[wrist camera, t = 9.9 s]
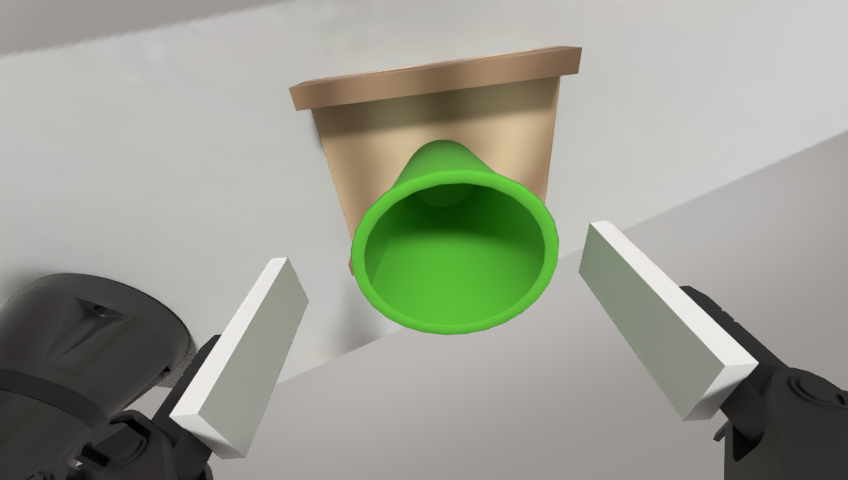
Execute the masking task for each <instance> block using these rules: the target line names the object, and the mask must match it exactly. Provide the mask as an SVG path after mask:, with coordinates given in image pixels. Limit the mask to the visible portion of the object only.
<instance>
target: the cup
mask: <svg viewBox="0 0 848 480" xmlns="http://www.w3.org/2000/svg"><path fill="white" fill-rule="evenodd" d="M558 248H559V238H558V234H557V230H556V226H555V222H554V219H553V218H552V216H551V214H550V213H549V211H548V210H547V208H546V206H545V205H544V203H543V202H542V200H540V199H539V198H538V197H537V196H536V195H534V194H533V193H532V192H531V191H530V190H529V189H527V188H526V187H525V186H524V185H523V184H520V183H518V182H516V181H514V180H512V179H509V178H507V177H505V176H503V175H500V174H498V173H496V172H494V171H493V170H492V169H491V168H490V167H489V166H487V165H486V164H485V163H484V162H483V161H482V160H480V159H479V158H478V157H477V156H476V155H475V154H473V153H472V152H471V151H470V150H469V149H467V148H466V147H465V146H464V145H462V144H460V143H458V142H456V141H452V140H446V139H444V140H435V141H432V142H429V143H426V144H425V145H423V146H422V147H420V148H419V149H418V150H417V151H416V152H415V153H414V154H413V155H412V157H411V158H410V160H409V161H408V163H407V164H406V166H405V167H404V169H403V171H402V172H401V174H400V175H399V177H398V178H397V180H396V181H395V183H394V184H393V186H392V187H391V189H390V190H388V191H386V192H385V193H384V194H383V195H382V196H381V197H380V198H379V199H378V200H377V201H376V202H375V203H374V204H373V205H372V206H371V207H370V208H369V209H368V210H367V211H366V212H365V214H364V216H363V217H362V219H361V221H360V223H359V225H358V227H357V228H356V230H355V233H354V238H353V243H352V248H351V260H352V269H353V273H354V275H355V278H356V280H357V282H358V285H359V287H360V290H361V292H362V293H363V294H364V296H365V297H366V298H367V299H368V301H369V302H370V303H371V305H372V306H373V307H374V308H376V309H377V310H378V311H379V312H381V313H382V314H383V315H385V316H386V317H387V318H388V319H390V320H392V321H394V322H397V323H399V324H401V325H403V326H405V327H407V328H411V329H414V330H418V331H421V332H425V333H434V334H442V335H452V334H468V333H472V332H478V331H482V330H486V329H489V328H492V327H495V326H497V325H500V324H503V323H505V322H507V321H509V320H510V319H512V318H514V317H515V316H517V315H519V314H521V313H522V312H523V311H525V310H526V309H527V308H528V307H529V306H530V305H532V304H533V303H534V302H535V301H536V300H537V299H538V298H539V297H540V295H541V294H542V292H543V291H544V290H545V288H546V287H547V286H548V284H549V283H550V280H551V278H552V275H553V273H554V270H555V268H556V265H557V260H558Z"/></svg>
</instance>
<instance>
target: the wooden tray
mask: <svg viewBox="0 0 848 480" xmlns="http://www.w3.org/2000/svg"><path fill="white" fill-rule="evenodd" d="M581 51H582V48H581V47H568V46H555V47H548V48H540V49H533V50H526V51H519V52H512V53H504V54H497V55H490V56H483V57H475V58H468V59H461V60H454V61H447V62H439V63H432V64H425V65H418V66H411V67H403V68H396V69H389V70H382V71H375V72H367V73H360V74H353V75H346V76H339V77H331V78H324V79H317V80H310V81H305V82H303V83H300V84H298V85H295V86H292V87H290V88H289V90H290V93H291V96H292V99H293V102H294V105H295V108H296V111H298V110H305V109H311V110H312V113H313V116H314V119H315V123H316V126H317V129H318V132H319V135H320V139H321V142H322V145H323V148H324V152H325V155H326V158H327V161H328V164H329V168H330V171H331V174H332V177H333V181H334V184H335V187H336V190H337V193H338V197H339V200H340V203H341V206H342V209H343V213H344V216H345V219H346V222H347V226H348V229H349V232H350V235H351V238H352V242H353V238H354V233H355V230H356V228H357V227H358V225H359V223H360V221H361V219H362V217H363V216H364V214H365V212H366V211H367V210H368V209H369V208H370V207H371V206H372V205H373V204H374V203H375V202H376V201H377V200H378V199H379V198H380V197H381V196H382V195H383V194H384V193H385V192H386V191H388V190H390V189H391V187H392V186H393V184H394V183H395V181H396V180H397V178H398V177H399V175H400V174H401V172H402V171H403V169H404V167H405V166H406V164H407V163H408V161H409V160H410V158H411V157H412V155H413V154H414V153H415V152H416V151H417V150H418V149H419V148H420V147H422V146H423V145H425V144H426V143H429V142H432V141H435V140H444V139H446V140H452V141H456V142H458V143H460V144H462V145H464V146H465V147H466V148H467V149H469V150H470V151H471V152H472V153H473V154H475V155H476V156H477V157H478V158H479V159H480V160H482V161H483V162H484V163H485V164H486V165H487V166H489V167H490V168H491V169H492V170H493V171H494V172H496V173H498V174H500V175H503V176H505V177H507V178H509V179H512V180H514V181H516V182H518V183H520V184H523V185H524V186H525V187H526V188H527V189H529V190H530V191H531V192H532V193H533V194H534V195H536V196H537V197H538V198H539V199H540V200H542V202H543V203H544V205H545V200H546V191H547V183H548V175H549V167H550V159H551V151H552V143H553V134H554V126H555V118H556V110H557V102H558V94H559V85H560V77H561V76H563V75H570V74H578V71H579V64H580V58H581ZM348 265H349V268H350V271H351V274H352V276H353V275H354V273H353V269H352V260H351V258H350V261H349V264H348Z"/></svg>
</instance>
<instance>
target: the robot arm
mask: <svg viewBox="0 0 848 480" xmlns="http://www.w3.org/2000/svg"><path fill="white" fill-rule="evenodd" d="M579 273H580V275H581V276H582V278H583V279H584V281H585V282H586V283H587V285H588V286H589V288H590V289H591V291H592V292H593V293H594V295H595V296H596V298H597V299H598V300H599V302H600V303H601V305H602V306H603V308H604V309H605V311H606V312H607V313H608V315H609V316H610V318H611V319H612V321H613V322H614V324H615V325H616V326H617V328H618V329H619V331H620V332H621V333H622V335H623V336H624V337H625V339H626V341H627V342H628V344H629V345H630V346H631V348H632V349H633V351H634V352H635V354H636V355H637V356H638V358H639V359H640V361H641V362H642V363H643V365H644V366H645V368H646V369H647V371H648V372H649V374H650V375H651V376H652V378H653V379H654V381H655V382H656V384H657V385H658V386H659V388H660V389H661V391H662V392H663V394H664V395H665V396H666V398H667V399H668V401H669V402H670V404H671V405H672V406H673V408H674V409H675V411H676V412H677V414H678V415H679V417H680V418H681V419H682V421H693V420H705V419H711V417H713V415H714V414H715V413H716V412H717V410H719V408H720V409H721V410H722V412H723V413H724V414H725V415H726V416H727V418H728V419H729V420H728V421H727V422H726V423H725V424H724V425H723V426H722V427H721V428H720V429H719V430H718V431H717V433H716V434H715V437H714V440H715V441H718V442H719V441H720V440H721V439H722V438H723V437H724V436H725V460H724V461H725V462H724V464H725V465H724V480H848V391H844V390H841V389H840V388H838V387H837V386H835V385H834V384H832V383H831V382H829V381H827V380H826V379H824V378H822V377H820V376H817V375H815V374H813V373H811V372H808V371H805V370H800V369H797V368H789V367H788V366H787V365H785V364H784V363H783V362H782V361H781V360H779V359H778V358H777V357H776V356H775V355H774V354H773V353H772V352H770V351H769V350H768V349H767V348H766V347H765V346H764V345H762V344H761V343H760V342H759V341H758V340H757V339H756V338H755V337H753V336H752V335H751V334H750V333H749V332H748V331H747V330H745V329H744V328H743V327H742V326H741V325H740V324H739V323H738V322H734V319H733V318H732V317H731V316H730V315H729V314H727V313H726V312H725V311H722V309H721V307H719V306H718V305H717V304H716V303H715V302H714V301H713V300H711V299H710V298H709V297H708V296H707V295H705V294H703V293H701V292H699V291H697V290H696V289H694V288H692V287H690V286H681V287H678V286H677V285H676V284H675V283H674V282H673V281H672V280H671V279H670V278H669V277H668V276H666V275H665V274H664V273H663V272H662V271H661V270H660V269H659V268H658V267H657V266H656V265H655V264H654V263H653V262H652V261H651V260H649V259H648V258H647V257H646V256H645V255H644V254H643V253H642V252H641V251H640V250H639V249H638V248H637V247H636V246H635V245H634V244H633V243H631V242H630V241H629V240H628V239H627V238H626V237H625V236H624V235H623V234H622V233H621V232H620V231H619V230H618V229H617V228H616V227H615V226H614V225H613V224H612V223H610V222H609V221H600V222H591V223H590V224H589V229H588V233H587V238H586V242H585V246H584V251H583V255H582V260H581V264H580V269H579ZM308 302H309V300H308V298H307V296H306V294H305V292H304V290H303V288H302V286H301V284H300V282H299V279H298V277H297V275H296V273H295V271H294V269H293V267H292V265H291V263H290V261H289V259H288V257H283V258H275V259H271V260H270V261H269V263H268V264H267V266H266V267H265V269H264V270H263V272H262V274H261V275H260V277H259V278H258V280H257V281H256V283H255V284H254V286H253V287H252V289H251V291H250V292H249V294H248V295H247V297H246V298H245V300H244V301H243V303H242V304H241V306H240V308H239V309H238V311H237V312H236V314H235V315H234V317H233V318H232V320H231V321H230V323H229V324H228V326H227V328H226V329H225V331H224V332H223V334H221V335H214V336H213V337H212V338H211V339H210V340H209V341H208V342H207V343H206V344H205V345H203V346H202V347H201V348H200V350H199V351H198V353H197V354H196V356H195V357H194V359H193V360H192V361H191V362H192V363H191V365H189V366H188V367H187V369H186V370H185V372H184V373H183V374H184V375H183V376H181V377H180V379H179V380H178V382H177V383H176V385H175V386H174V388H173V389H172V391H171V392H170V394H169V395H168V396H167V398H166V400H165V401H164V402H163V404H162V405H161V407H160V408H159V410H158V411H157V412H156V414H155V415H154V417H153V418H152V420H149V419H148V418H147V417H146V416H144V415H143V414H142V413H140V412H139V411H136V410H127V411H123V410H124V409H125V408H127V407H128V406H129V405H130V404H132V403H133V402H134V401H136V400H137V399H138V398H140V397H141V396H142V395H143V394H144V393H146V392H147V391H148V390H150V389H151V388H152V387H154V386H155V385H156V384H157V383H159V382H160V381H161V380H162V379H164V378H165V377H166V376H168V375H169V374H170V373H171V372H172V371H173V370H174V369H175V368H176V367H177V365H178V364H179V363H180V361H181V360H182V359H183V357H184V356H185V355H186V354H187V352H188V350H189V346H190V341H189V336H188V333H187V331H186V329H185V328H184V326H183V325H182V323H181V322H180V321H179V320H178V319H177V318H176V317H175V316H174V315H173V314H172V313H171V312H170V311H169V310H168V309H166V308H165V307H164V306H162V305H161V304H160V303H158V302H157V301H155V300H154V299H152V298H150V297H149V296H147V295H145V294H143V293H141V292H139V291H137V290H135V289H133V288H130V287H128V286H126V285H123V284H120V283H117V282H114V281H111V280H108V279H104V278H100V277H96V276H91V275H85V274H74V273H62V274H53V275H49V276H45V277H43V278H40V279H39V280H37V281H35V282H34V283H32V284H31V285H29V286H28V287H26V288H24V289H23V290H21V291H20V292H18V293H17V294H15V295H14V296H13V297H12V298H10V299H9V300H8V301H7V303H6V304H5V305H4V306H3V307H2V309H1V310H0V480H213V475H212V470H211V468H210V466H209V465H208V463H207V461H208V459H209V457H210V455H211V453H212V452H214V453H215V454H216V455H217V456H219V457H220V458H221V459H233V458H245V457H246V456H247V453H248V451H249V448H250V446H251V443H252V441H253V438H254V436H255V433H256V431H257V428H258V426H259V424H260V421H261V418H262V416H263V414H264V411H265V409H266V406H267V403H268V401H269V399H270V396H271V393H272V391H273V389H274V386H275V384H276V381H277V379H278V376H279V374H280V371H281V369H282V366H283V364H284V361H285V359H286V356H287V354H288V351H289V349H290V346H291V344H292V341H293V339H294V336H295V334H296V331H297V329H298V326H299V324H300V321H301V319H302V316H303V314H304V311H305V309H306V306H307V304H308ZM78 461H79V462H81V463H83V464H81V465H79V466H75V465H76V464H77V463H78Z"/></svg>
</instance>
